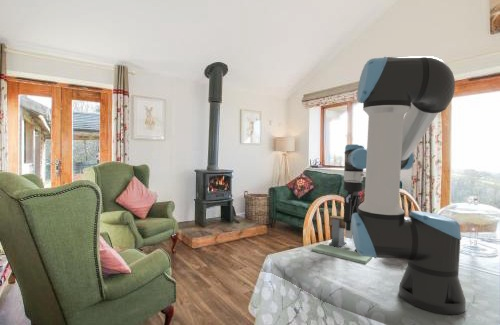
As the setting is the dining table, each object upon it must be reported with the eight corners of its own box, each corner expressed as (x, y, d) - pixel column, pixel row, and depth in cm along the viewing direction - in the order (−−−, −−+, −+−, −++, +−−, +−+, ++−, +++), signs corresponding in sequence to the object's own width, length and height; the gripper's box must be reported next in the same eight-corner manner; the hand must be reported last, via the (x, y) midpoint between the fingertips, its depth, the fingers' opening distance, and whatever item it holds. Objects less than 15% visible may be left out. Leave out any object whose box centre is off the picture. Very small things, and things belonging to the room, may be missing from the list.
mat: (366, 264, 102) (366, 261, 102) (311, 250, 115) (312, 248, 115) (372, 258, 109) (372, 255, 109) (320, 246, 122) (320, 243, 122)
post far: (340, 247, 120) (341, 220, 119) (329, 245, 123) (330, 218, 122) (346, 244, 125) (347, 218, 125) (335, 241, 128) (336, 216, 128)
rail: (372, 233, 113) (372, 223, 113) (328, 225, 124) (329, 216, 124) (375, 231, 117) (375, 222, 116) (332, 224, 128) (332, 215, 127)
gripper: (355, 183, 110) (352, 243, 111) (368, 180, 125) (366, 233, 126) (336, 181, 115) (334, 239, 115) (351, 179, 130) (349, 230, 130)
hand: (351, 236), depth 121 cm, fingers open, 6 cm apart
